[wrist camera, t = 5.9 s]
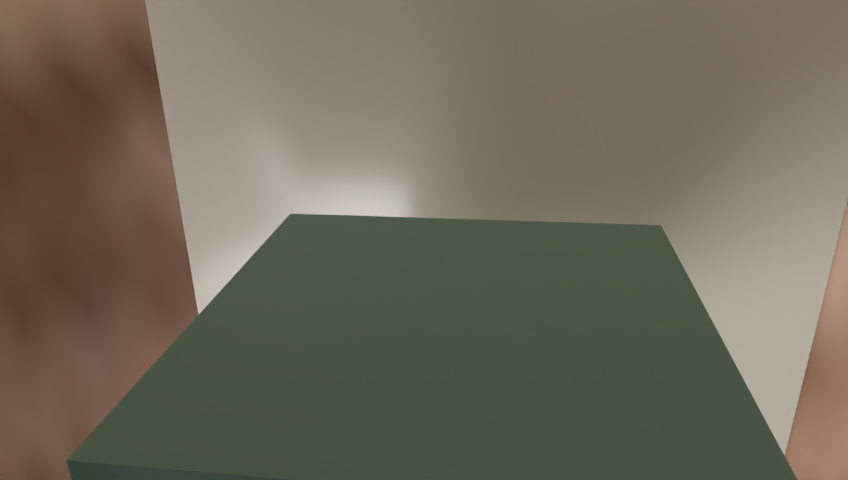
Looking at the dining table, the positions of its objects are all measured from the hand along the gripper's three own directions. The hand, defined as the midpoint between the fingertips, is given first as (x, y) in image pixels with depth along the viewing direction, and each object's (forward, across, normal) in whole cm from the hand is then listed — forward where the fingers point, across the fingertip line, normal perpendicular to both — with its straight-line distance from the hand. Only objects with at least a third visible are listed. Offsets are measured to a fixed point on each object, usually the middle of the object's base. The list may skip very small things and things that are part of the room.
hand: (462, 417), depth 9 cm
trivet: (+7, 0, 0) cm, 7 cm away
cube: (+1, 0, 0) cm, 1 cm away
